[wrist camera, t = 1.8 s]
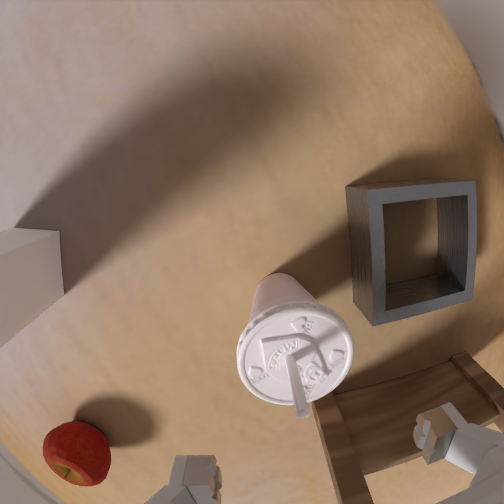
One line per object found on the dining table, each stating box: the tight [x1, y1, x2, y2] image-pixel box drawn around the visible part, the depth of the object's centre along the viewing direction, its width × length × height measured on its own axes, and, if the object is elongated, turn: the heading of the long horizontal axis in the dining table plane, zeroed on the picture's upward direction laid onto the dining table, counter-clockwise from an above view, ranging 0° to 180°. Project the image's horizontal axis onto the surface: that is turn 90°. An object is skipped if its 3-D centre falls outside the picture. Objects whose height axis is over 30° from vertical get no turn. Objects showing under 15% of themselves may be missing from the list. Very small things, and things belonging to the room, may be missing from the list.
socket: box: [345, 178, 477, 326], centre depth 22 cm, size 10×10×4 cm
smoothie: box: [237, 273, 354, 418], centre depth 18 cm, size 6×6×14 cm
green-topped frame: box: [312, 351, 504, 504], centre depth 15 cm, size 7×19×26 cm, turn 99°
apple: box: [43, 421, 111, 486], centre depth 25 cm, size 8×8×8 cm
